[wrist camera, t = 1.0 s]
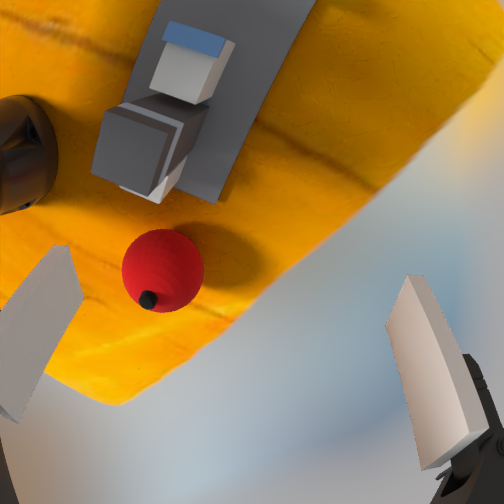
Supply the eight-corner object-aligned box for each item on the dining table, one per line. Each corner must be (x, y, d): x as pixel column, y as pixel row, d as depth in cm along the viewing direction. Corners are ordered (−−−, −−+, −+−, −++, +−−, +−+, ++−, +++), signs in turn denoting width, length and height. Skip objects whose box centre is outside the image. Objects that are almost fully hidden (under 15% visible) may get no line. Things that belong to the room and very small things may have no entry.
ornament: (142, 206, 35) (102, 254, 27) (217, 226, 36) (197, 282, 27) (137, 267, 40) (106, 321, 32) (203, 286, 41) (185, 346, 32)
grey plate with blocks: (110, 156, 32) (72, 183, 26) (200, -65, 18) (176, -95, 12) (217, 201, 34) (200, 238, 28) (328, -23, 20) (343, -48, 14)
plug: (151, 132, 29) (89, 173, 19) (167, 90, 27) (104, 109, 17) (193, 149, 30) (148, 197, 20) (210, 106, 28) (169, 133, 18)
